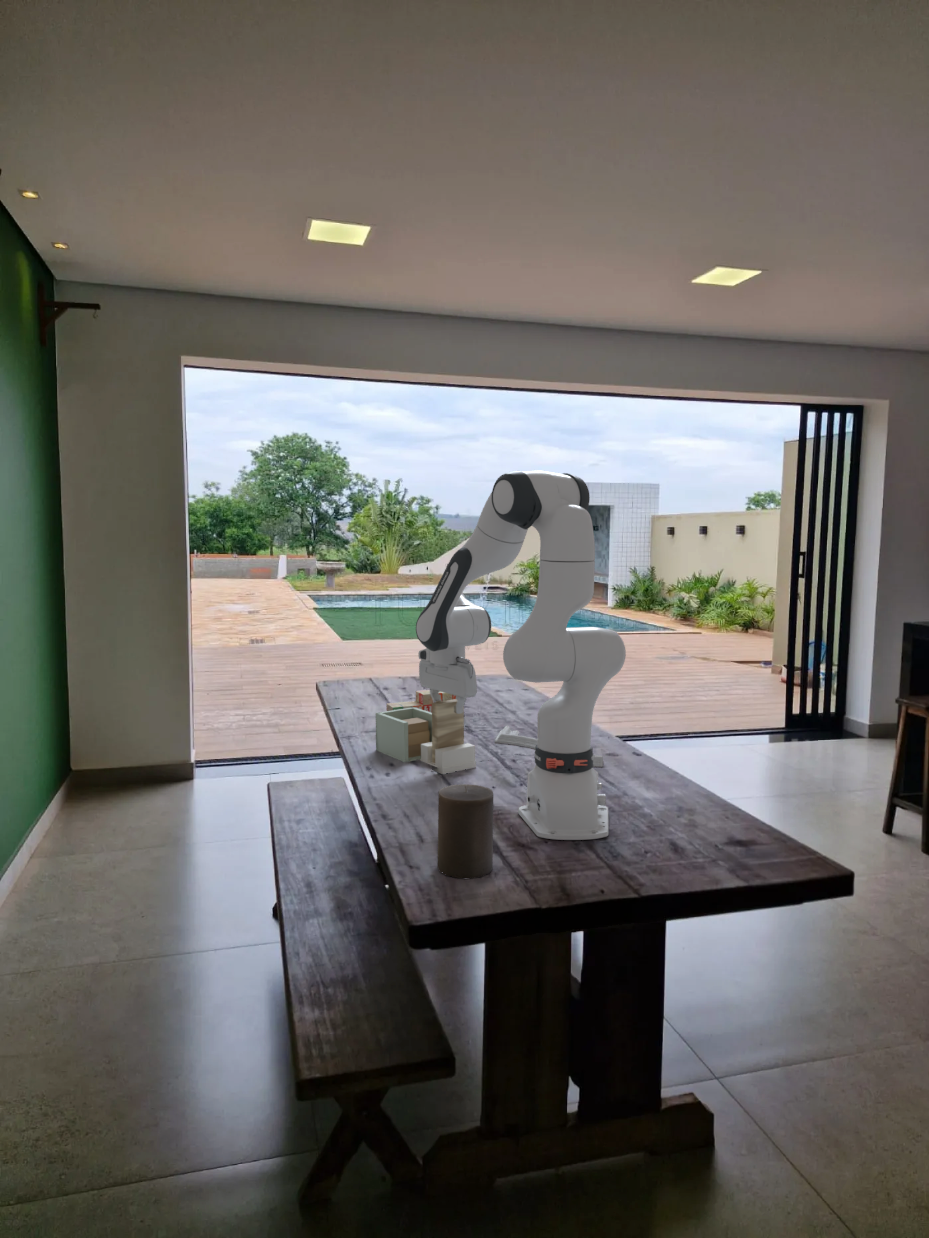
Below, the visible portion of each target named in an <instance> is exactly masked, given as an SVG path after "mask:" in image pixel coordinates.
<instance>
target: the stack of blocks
mask: <svg viewBox="0 0 929 1238" xmlns="http://www.w3.org/2000/svg"><path fill="white" fill-rule="evenodd" d="M438 693H439V697H440V699H441V700H442V701H447V700H454V699H456V696H455V695H452V694H448V693H444V692H441V691H440V692H438ZM432 703H433V700H432V697H431V694H430V689H426V690H424V689H423V690H416V691H415V700H413V701H399V702H389V703H388V702H387V703H386V705H385V706H386V710H385V711H392V710H398V709H405V708H411V707H415V708H419V709H422V710H425V711H428V712H431V713H432Z"/></svg>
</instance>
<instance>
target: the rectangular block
mask: <svg viewBox="0 0 929 1238" xmlns="http://www.w3.org/2000/svg"><path fill="white" fill-rule="evenodd" d="M457 701H458V700H456V699H454V700H447V701H441V702H434V703H432V762H433V763H435V749H440V748H445V747H450V746H456V745H461V744H465V735H464V734H465V728H464V727H465V719H464V718H465V714H464V713H465V712H464V711H465V710H464V708H465V705H464V706H463V713H461V714H457V713H455V712H454V706H456V704H457Z"/></svg>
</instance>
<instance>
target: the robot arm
mask: <svg viewBox="0 0 929 1238" xmlns="http://www.w3.org/2000/svg"><path fill="white" fill-rule="evenodd" d="M589 505H590V490H589V488H588V485H587V483H586V482H585V481H584V480H583V479H582V478H581V477H579V476H577V475H574V474H571V473H567V472H563V473H559V472H553V471H546V470H526V471H525V470H524V471H522V470H512V471H509V472H505V473H503V474H502V475H500V476H499V477H497V479H496V481H495V482H494V485H493V487H492V490H491V492H490V494H489V496H488V498H487V499H486V502H485V503H484V506H483V507H482V510H481V512H480V515H479V518H478V521H477V524H476V525H475V529H474V531H473V533H472V534H471V535H470V537H469V538H468V539H467V540H466V542H465V543H464V544H463V545H462V546H461V548H459V549H458V550H457V551H455V553H454V554H453V555H452V557H451V558H450V560H449V561H448V563H447V565H446V568H445V569H444V571H443V574H442V575H441V577H440V579H439V581H438V584H437V586H436V587H435V589H434V591H433V593H432V595H431V597H430V599H429V601H428V603H427V604H426V606H425V607H424V608H423V609H422V612H420V614H419V616H418V618H417V619H416V623H415V634H416V637H417V639H418V640H419V642H420V644H422V645H423V647H425V648H423V649H421V650H419V651H418V655H417V656H418V659H419V660H420V661H419V662H418V663H419V665H418V678H419V680H418V681H419V683H420V685H421V687H423V688H427V689H429V690H430V694H431V697H432V700H433V703H434V702H441V701H442V700H441V699H440V697H439V693H438V692H440V691H441V692H444V693H448V694H452V695H455V696H456V700H458V701H457V704H456V706H454V712H455V713H457V714H461V713H463V706H464V707H465V703H466V701H467V698H474V697H476V695H477V694H478V684H477V683H478V682H477V675H476V670H475V667H474V664H473V663H472V662H471V660H470V659H469V658H466V647H471V646H477V645H481V644H484V643H485V642H486V641H487V640H488V638H489V637H490V636H491V632H492V631H491V630H492V619H491V616H490V614H489V612H488V611H487V609H485V608H484V607H483V606H481V605H480V606H479V605H477V604H475V603H474V602H471V601H470V600H469V599H468V598H467V597H466V596H465V594H464V590H465V589H466V587H467V586H468V585H469V584H471V583H473V581H475V580H477V579H479V578H481V577H483V576H486V575H488V574H491V573H494V572H497V571H500V570H503V569H504V568H507V567H508V566H510V565H511V564H512V563H514V561H515V560H516V558H517V557H518V556H519V553H520V552H521V549H522V547H523V545H524V542H525V539H526V535H527V533H528V530H529V528H531V527H533V528H534V529H535V530H536V531H537V532H538V534H539V540H540V547H539V568H538V569H539V572H538V573H539V574H538V584H537V586H538V587H537V595H536V600H535V602H534V606H533V608H532V611H531V612H530V614H529V616H528V618H527V619H526V620H525V622H524V623H523V624H522V625H521V626H520V627H519V628H518V629H517V630H516V631H515V632H513V633H512V634H511V635H510V636H509V637H508V639H507V640H506V642H505V644H504V647H503V652H502V653H503V654H502V659H503V664H504V666H505V669H506V671H507V672H508V674H509V675H510V676H511V677H512V678H513V679H514V680H518V681H522V682H529V683H534V684H535V683H536V684H539V683H555V682H562V686H561V687H560V689H559V690H558V692H557V693H556V694H555V695H554V696H553V697H550V698H549V699H547V700H546V701H545V702H543V703H542V704H541V706H540V707H539V709H538V712H537V716H536V717H537V718H536V719H537V722H536V723H537V725H536V728H537V738H536V739H537V745H536V746H535V749H534V763H535V765H534V767H533V768H532V770H530V771H529V772H528V773H527V781H526V782H527V785H526V805H525V804H524V805H522V806H519V807H518V810H517V813H518V815H519V816H520V817H521V818H522V819H523V821H524V822H525V823H526V825H528V827H529V828H530V829H531V830H532V832H533V833H534V834H535V835H536V836H537V837H538V838H542V839H550V840H557V841H558V840H561V841H563V840H564V841H581V840H582V841H584V840H596V839H602V838H606V837H608V836H609V834H610V833H609V832H610V831H609V829H610V828H609V827H610V825H609V824H610V823H609V807H608V806H607V804H606V803H607V796H606V795H607V794H605V793H599V791H600V790H601V791H602V790H603V782H599V772H598V771H597V770H596V769H594V767H593V758H594V756H593V755H594V752H593V750H594V749H593V747H592V745H591V743H592V724H593V714H594V709H595V706H596V703H597V700H598V698H599V696H600V694H601V692H602V691H603V689H604V688H605V686H606V685H607V684H608V683H609V681H611V679H613V678H614V677H615V676H617V674H618V673H619V672H620V671H621V670H622V669H623V667H624V664H625V661H626V655H627V654H626V653H627V652H626V645H625V643H624V641H623V639H622V637H621V636H620V634H619V633H618V632H617V631H615V630H613V629H608V628H605V627H597V626H578V627H577V626H575V627H574V626H573V627H567V626H568V623H569V621H570V620H571V617H572V616H573V615H574V614H575V613H577V612H578V611H580V610H582V609H583V608H585V607H586V606H587V605H589V603H590V602H591V601H592V599H593V597H594V594H595V593H594V592H595V563H596V562H595V558H596V548H595V546H596V545H595V544H596V543H595V534H594V527H593V520H592V517H591V514H590V513H589V511H588V509H589Z"/></svg>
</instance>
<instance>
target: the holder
mask: <svg viewBox="0 0 929 1238" xmlns="http://www.w3.org/2000/svg"><path fill="white" fill-rule="evenodd" d="M419 761H420V762H422V763H425V764H428V765H430V766H432V767H434V768H431V769H432V770H431V771H434V772H437V773H439V774H441V775H447V774H446V773H448V774H451V773H456V772H455V771H457V772H462V771H465V769H466V770H471V769H475V768H477V762H476V745H474V744H471V743H470V742H468V743H464V744H461V745H456V746H450V747H445V748H440V749H435V763H433V762H432V742H429V743H424V744H421V759H419Z"/></svg>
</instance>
